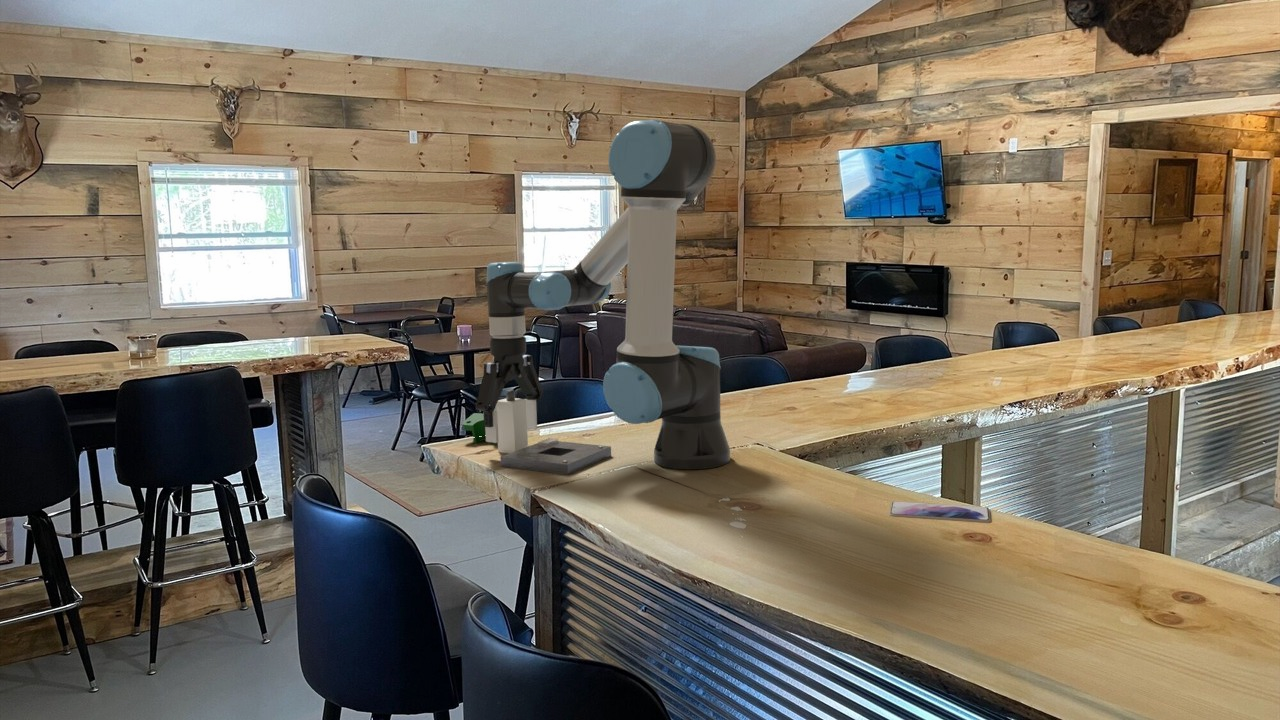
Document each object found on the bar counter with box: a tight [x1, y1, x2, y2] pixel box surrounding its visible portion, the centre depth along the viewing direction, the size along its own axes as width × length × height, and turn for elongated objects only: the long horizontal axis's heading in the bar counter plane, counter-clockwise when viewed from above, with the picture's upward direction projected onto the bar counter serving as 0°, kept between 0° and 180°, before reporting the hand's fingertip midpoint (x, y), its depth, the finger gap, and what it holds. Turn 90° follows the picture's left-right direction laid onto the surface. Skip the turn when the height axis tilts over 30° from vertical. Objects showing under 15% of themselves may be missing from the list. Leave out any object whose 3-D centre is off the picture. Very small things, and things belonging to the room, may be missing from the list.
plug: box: [495, 389, 529, 454], centre depth 196 cm, size 4×4×13 cm
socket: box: [500, 437, 612, 476], centre depth 187 cm, size 16×16×3 cm
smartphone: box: [889, 501, 991, 524], centre depth 147 cm, size 7×1×15 cm
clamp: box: [462, 412, 498, 446], centre depth 206 cm, size 12×6×9 cm, turn 61°
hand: (512, 435), depth 197 cm, fingers open, 13 cm apart
